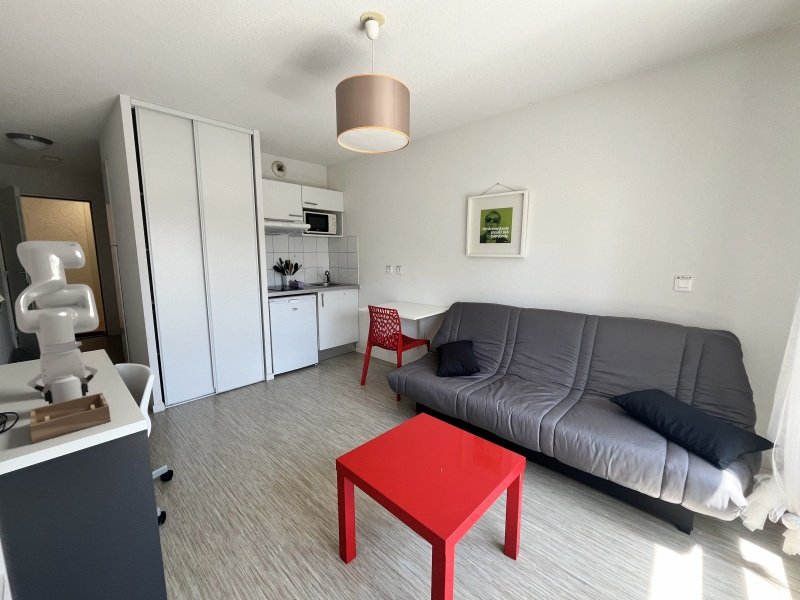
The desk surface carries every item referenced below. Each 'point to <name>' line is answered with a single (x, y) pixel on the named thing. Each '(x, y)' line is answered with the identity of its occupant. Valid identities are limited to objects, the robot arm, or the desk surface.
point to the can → (65, 389)
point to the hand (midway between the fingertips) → (67, 398)
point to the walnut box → (68, 417)
